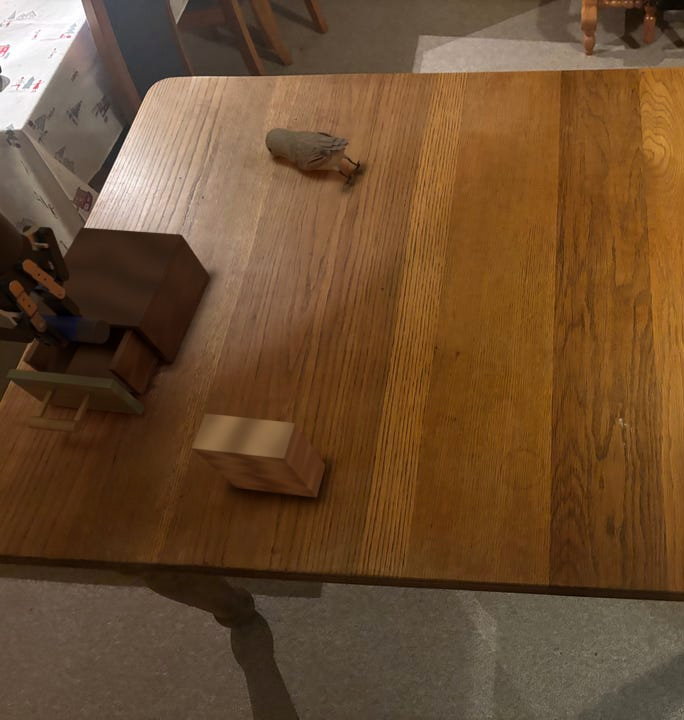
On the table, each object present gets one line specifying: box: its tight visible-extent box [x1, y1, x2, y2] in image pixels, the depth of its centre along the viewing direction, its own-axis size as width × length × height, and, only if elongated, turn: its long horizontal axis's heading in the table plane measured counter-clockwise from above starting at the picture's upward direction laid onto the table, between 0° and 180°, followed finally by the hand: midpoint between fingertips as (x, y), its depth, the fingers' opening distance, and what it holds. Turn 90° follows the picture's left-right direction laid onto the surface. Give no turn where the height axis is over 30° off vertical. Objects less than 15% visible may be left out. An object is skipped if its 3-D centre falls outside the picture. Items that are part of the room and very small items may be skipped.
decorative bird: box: [264, 127, 361, 185], centre depth 101 cm, size 5×16×8 cm, turn 66°
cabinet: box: [35, 227, 211, 365], centre depth 88 cm, size 15×15×9 cm
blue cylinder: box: [39, 313, 110, 344], centre depth 71 cm, size 9×3×3 cm, turn 81°
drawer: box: [6, 327, 160, 434], centre depth 83 cm, size 18×13×7 cm
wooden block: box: [191, 413, 326, 498], centre depth 73 cm, size 10×4×12 cm, turn 82°
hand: (66, 330), depth 72 cm, fingers closed on blue cylinder, 2 cm apart
